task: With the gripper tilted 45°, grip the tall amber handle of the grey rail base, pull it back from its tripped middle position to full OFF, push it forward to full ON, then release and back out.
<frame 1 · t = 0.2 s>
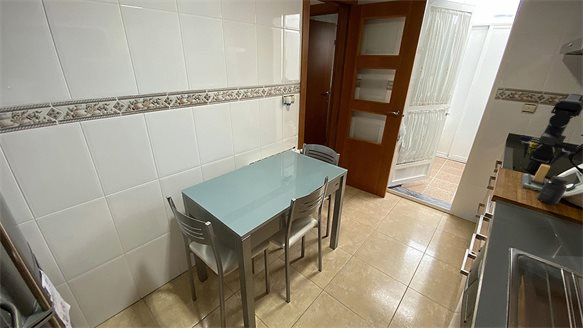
hand: (537, 161, 110), 16 cm above the worktop, tool pointing down, fingers open, 9 cm apart
grey rail base: (534, 184, 122), on the worktop
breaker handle: (541, 173, 119), point 6 cm above the worktop, slide at 0.0 cm
supplement bottle: (546, 201, 108), on the worktop
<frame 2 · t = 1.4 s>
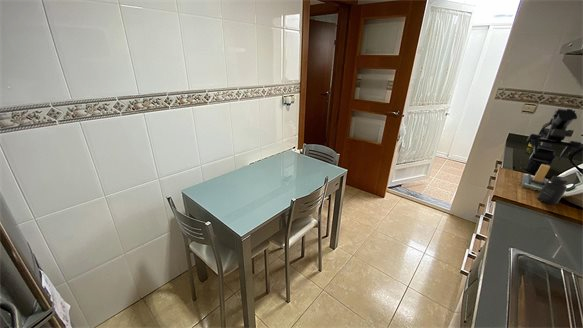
hand: (547, 156, 120), 14 cm above the worktop, tool tilted 45°, fingers open, 9 cm apart
nothing on the worktop moved.
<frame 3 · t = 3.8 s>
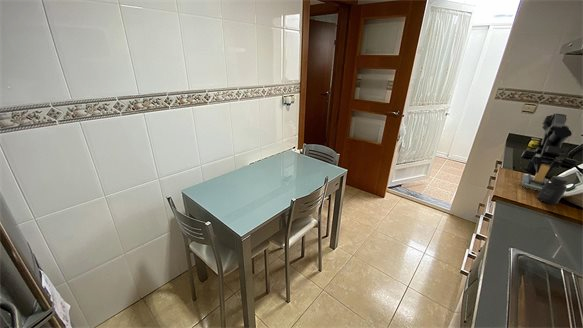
hand: (541, 173, 117), 7 cm above the worktop, tool tilted 45°, fingers closed on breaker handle, 3 cm apart
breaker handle: (541, 173, 119), point 6 cm above the worktop, slide at 0.0 cm, touching gripper
everything else where it was.
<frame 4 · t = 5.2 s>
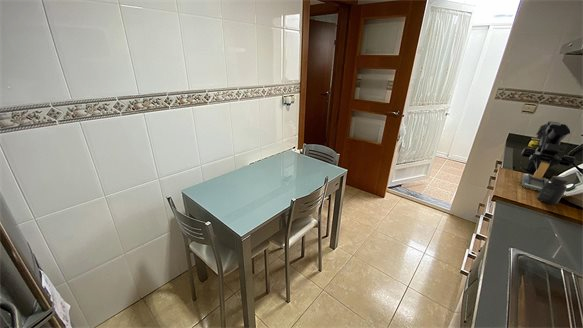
hand: (541, 170, 120), 7 cm above the worktop, tool tilted 45°, fingers closed on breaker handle, 3 cm apart
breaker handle: (540, 171, 121), point 6 cm above the worktop, slide at -4.1 cm, touching gripper
everything else where it was.
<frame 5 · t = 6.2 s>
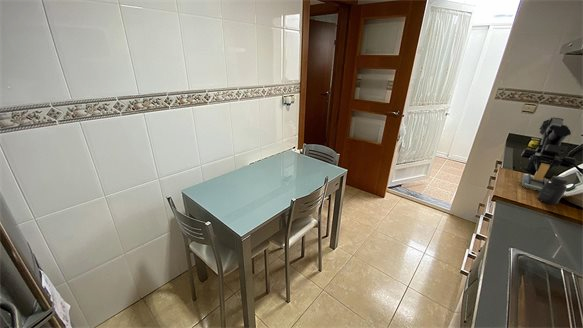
hand: (541, 171, 119), 7 cm above the worktop, tool tilted 45°, fingers closed on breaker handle, 3 cm apart
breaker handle: (540, 172, 120), point 6 cm above the worktop, slide at -1.9 cm, touching gripper
everything else where it was.
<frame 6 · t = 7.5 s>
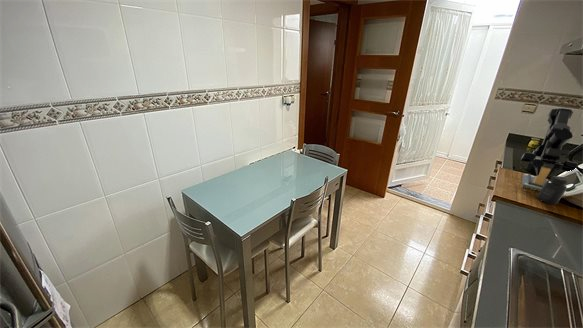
hand: (542, 176, 115), 7 cm above the worktop, tool tilted 45°, fingers closed on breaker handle, 3 cm apart
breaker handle: (541, 176, 116), point 6 cm above the worktop, slide at 4.1 cm, touching gripper
everything else where it was.
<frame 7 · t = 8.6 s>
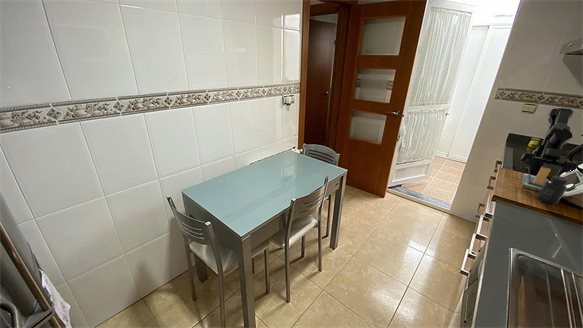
hand: (542, 176, 115), 7 cm above the worktop, tool tilted 45°, fingers open, 9 cm apart
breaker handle: (541, 176, 116), point 6 cm above the worktop, slide at 4.0 cm
everything else where it was.
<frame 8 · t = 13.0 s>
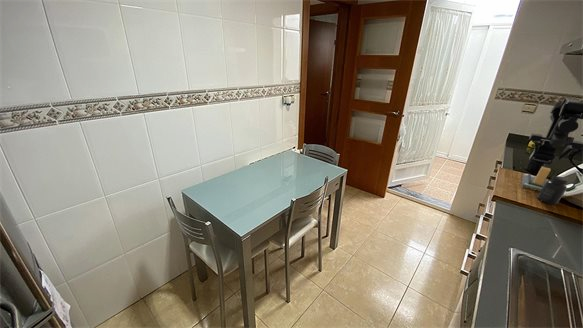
hand: (546, 156, 122), 13 cm above the worktop, tool pointing down, fingers open, 9 cm apart
nothing on the worktop moved.
at the end: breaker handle slide at 4.0 cm; the gripper is holding nothing; supplement bottle moved 0.2 cm from its start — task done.
